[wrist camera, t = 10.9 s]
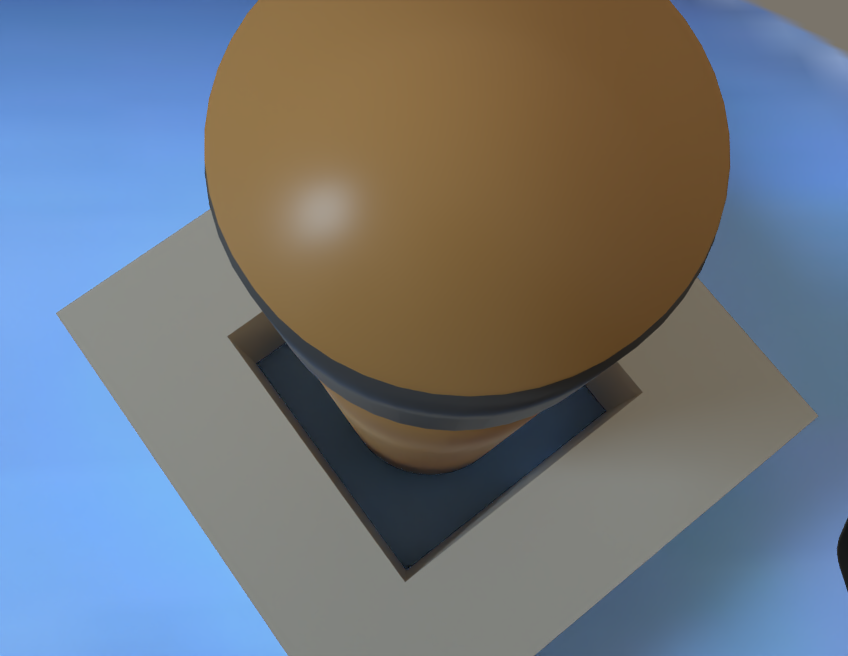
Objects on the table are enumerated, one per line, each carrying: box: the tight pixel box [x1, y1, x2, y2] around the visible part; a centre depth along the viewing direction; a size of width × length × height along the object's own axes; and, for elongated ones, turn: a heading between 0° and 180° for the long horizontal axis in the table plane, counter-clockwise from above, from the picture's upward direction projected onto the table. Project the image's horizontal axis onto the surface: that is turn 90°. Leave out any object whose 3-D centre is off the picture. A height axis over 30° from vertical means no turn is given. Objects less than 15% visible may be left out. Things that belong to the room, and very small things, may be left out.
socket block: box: [56, 209, 818, 656], centre depth 17 cm, size 11×11×4 cm
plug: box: [205, 0, 730, 475], centre depth 12 cm, size 4×4×13 cm
